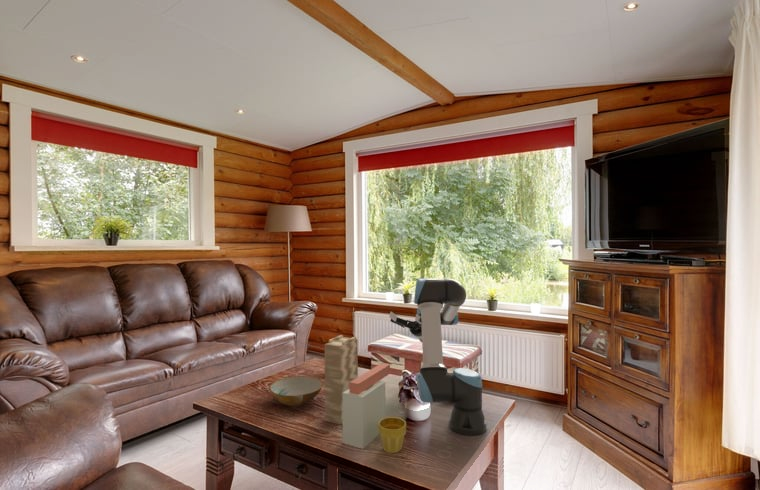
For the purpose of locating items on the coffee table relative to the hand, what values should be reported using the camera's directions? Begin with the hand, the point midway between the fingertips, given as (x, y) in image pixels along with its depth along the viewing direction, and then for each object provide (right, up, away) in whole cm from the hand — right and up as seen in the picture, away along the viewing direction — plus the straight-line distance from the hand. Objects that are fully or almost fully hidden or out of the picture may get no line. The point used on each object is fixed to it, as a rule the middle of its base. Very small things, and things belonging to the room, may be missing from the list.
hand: (403, 315), depth 191 cm
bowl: (-51, -42, +2) cm, 66 cm away
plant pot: (-6, -43, -41) cm, 60 cm away
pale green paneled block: (-17, -42, -31) cm, 55 cm away
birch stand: (-28, -42, -13) cm, 52 cm away
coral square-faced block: (-15, -23, -27) cm, 38 cm away
